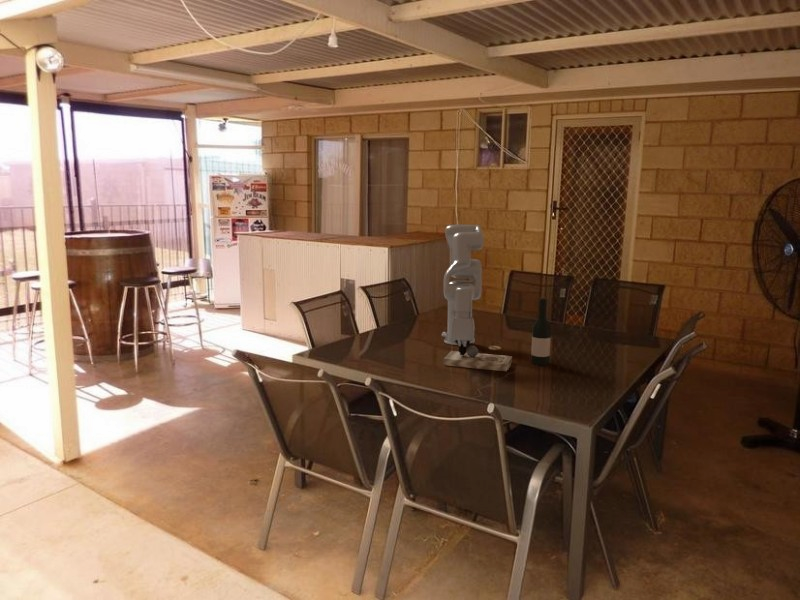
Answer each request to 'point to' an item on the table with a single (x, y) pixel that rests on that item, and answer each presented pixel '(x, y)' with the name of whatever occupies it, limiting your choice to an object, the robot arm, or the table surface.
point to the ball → (472, 351)
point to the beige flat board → (478, 361)
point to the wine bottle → (541, 337)
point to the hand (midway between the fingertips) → (462, 354)
